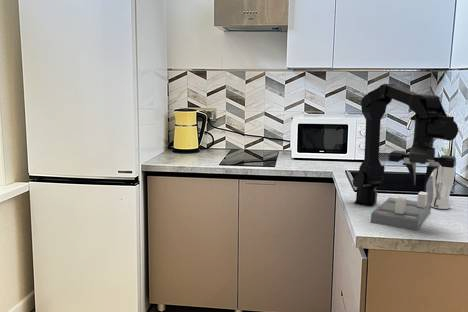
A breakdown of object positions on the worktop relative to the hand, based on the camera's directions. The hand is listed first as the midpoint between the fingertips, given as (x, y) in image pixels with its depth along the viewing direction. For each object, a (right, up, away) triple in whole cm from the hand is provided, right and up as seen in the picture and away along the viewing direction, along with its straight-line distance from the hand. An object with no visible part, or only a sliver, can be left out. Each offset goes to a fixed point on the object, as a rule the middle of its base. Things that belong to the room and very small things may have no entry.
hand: (419, 186), depth 143 cm
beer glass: (+16, -9, +22) cm, 29 cm away
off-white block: (+6, -7, +12) cm, 15 cm away
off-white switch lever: (-4, -9, +4) cm, 11 cm away
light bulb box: (+19, -8, +31) cm, 37 cm away
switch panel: (-2, -11, +10) cm, 15 cm away
